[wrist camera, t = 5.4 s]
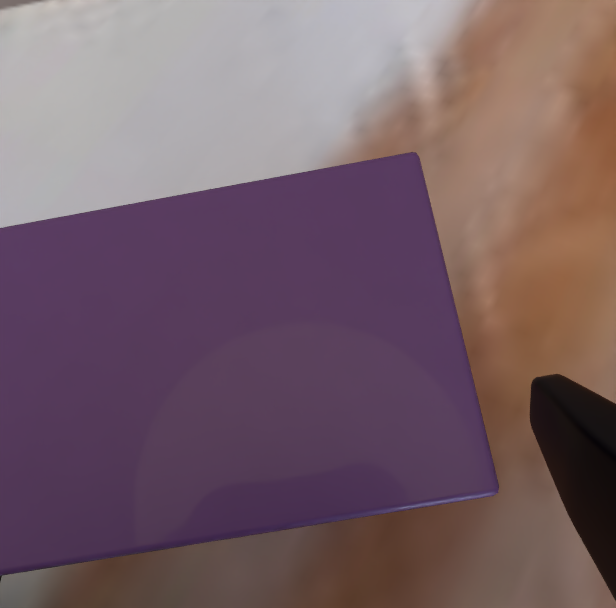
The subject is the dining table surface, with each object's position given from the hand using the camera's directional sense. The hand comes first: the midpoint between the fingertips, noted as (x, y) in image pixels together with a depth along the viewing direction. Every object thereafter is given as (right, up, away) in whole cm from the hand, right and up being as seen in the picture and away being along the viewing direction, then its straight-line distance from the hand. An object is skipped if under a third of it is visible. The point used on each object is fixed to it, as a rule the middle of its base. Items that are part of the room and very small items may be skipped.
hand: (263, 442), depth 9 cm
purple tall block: (+1, -1, +8) cm, 9 cm away
